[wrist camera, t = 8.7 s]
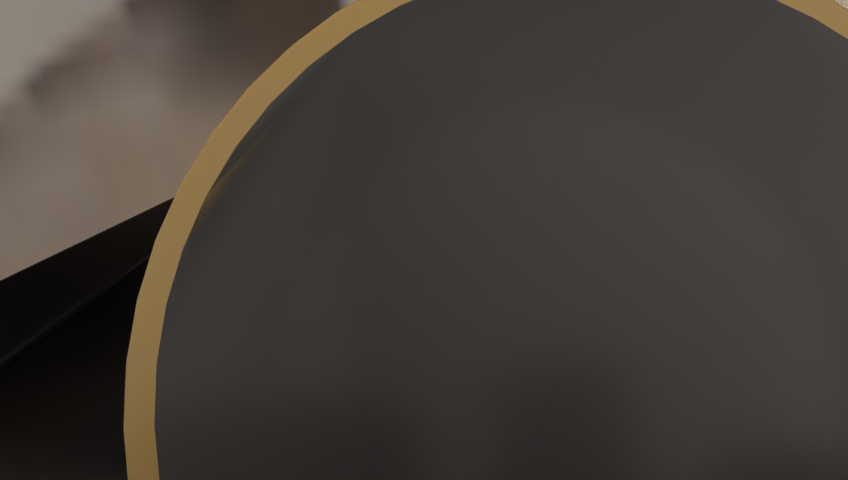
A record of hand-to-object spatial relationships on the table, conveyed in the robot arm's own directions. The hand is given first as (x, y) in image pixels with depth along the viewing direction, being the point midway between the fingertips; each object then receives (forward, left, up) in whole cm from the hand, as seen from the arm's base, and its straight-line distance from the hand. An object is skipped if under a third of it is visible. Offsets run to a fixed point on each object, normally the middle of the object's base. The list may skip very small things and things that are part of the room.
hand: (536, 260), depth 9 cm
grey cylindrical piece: (-1, -1, -8) cm, 8 cm away
